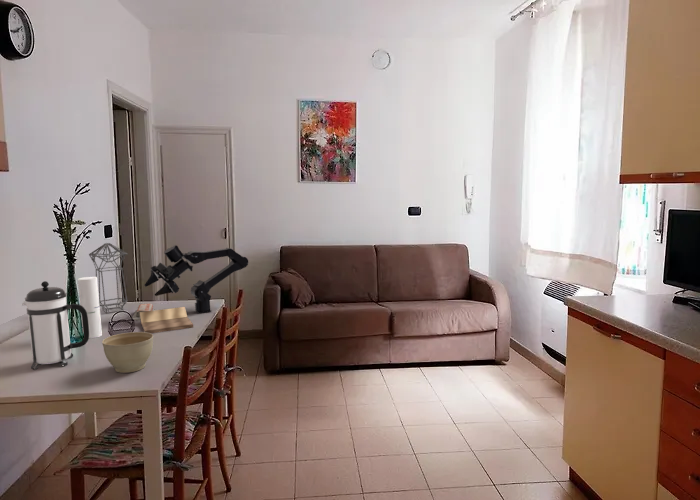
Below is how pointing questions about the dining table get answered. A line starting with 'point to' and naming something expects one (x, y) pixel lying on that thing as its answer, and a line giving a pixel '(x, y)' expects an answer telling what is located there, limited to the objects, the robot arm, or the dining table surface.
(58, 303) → the coffee press
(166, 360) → the dining table surface
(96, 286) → the cylindrical container
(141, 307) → the packaged product
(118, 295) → the geometric lantern
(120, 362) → the planter bowl
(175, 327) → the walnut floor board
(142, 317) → the oak plank
